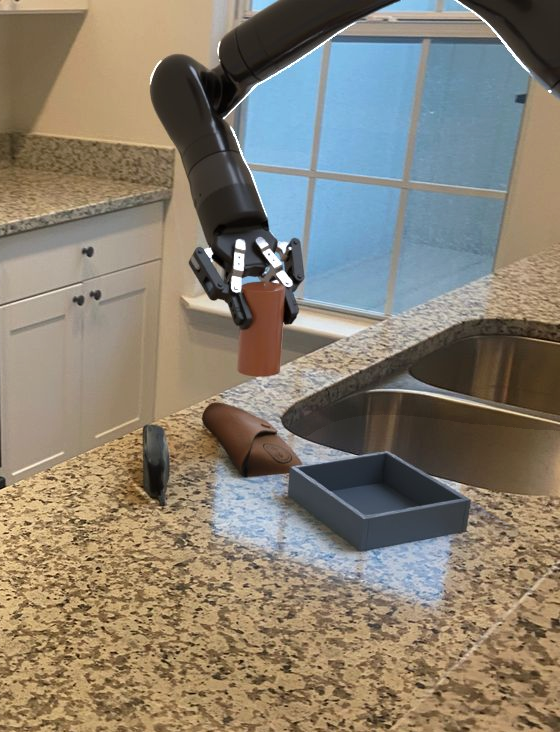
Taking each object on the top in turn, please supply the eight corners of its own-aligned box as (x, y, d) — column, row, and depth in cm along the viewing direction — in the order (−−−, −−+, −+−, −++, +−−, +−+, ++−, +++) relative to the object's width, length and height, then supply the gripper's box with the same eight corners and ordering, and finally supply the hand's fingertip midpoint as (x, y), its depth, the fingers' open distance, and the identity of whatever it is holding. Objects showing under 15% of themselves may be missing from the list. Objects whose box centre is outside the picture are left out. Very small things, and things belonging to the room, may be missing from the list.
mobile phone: (139, 421, 123) (145, 465, 109) (164, 420, 123) (173, 465, 109) (139, 459, 125) (144, 508, 111) (164, 459, 125) (172, 508, 111)
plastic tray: (383, 483, 116) (387, 450, 114) (465, 535, 103) (471, 499, 101) (287, 500, 112) (289, 466, 111) (359, 556, 100) (363, 519, 98)
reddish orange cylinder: (267, 362, 124) (272, 279, 120) (288, 373, 120) (293, 288, 116) (230, 367, 123) (233, 284, 119) (249, 379, 119) (253, 293, 114)
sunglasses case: (313, 471, 118) (287, 426, 115) (261, 504, 119) (234, 461, 116) (263, 419, 134) (239, 379, 131) (217, 449, 135) (193, 409, 132)
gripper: (181, 185, 117) (223, 312, 112) (293, 176, 121) (339, 299, 116) (162, 225, 124) (201, 347, 119) (268, 215, 128) (311, 333, 123)
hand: (269, 323), depth 117 cm, fingers closed on reddish orange cylinder, 5 cm apart
